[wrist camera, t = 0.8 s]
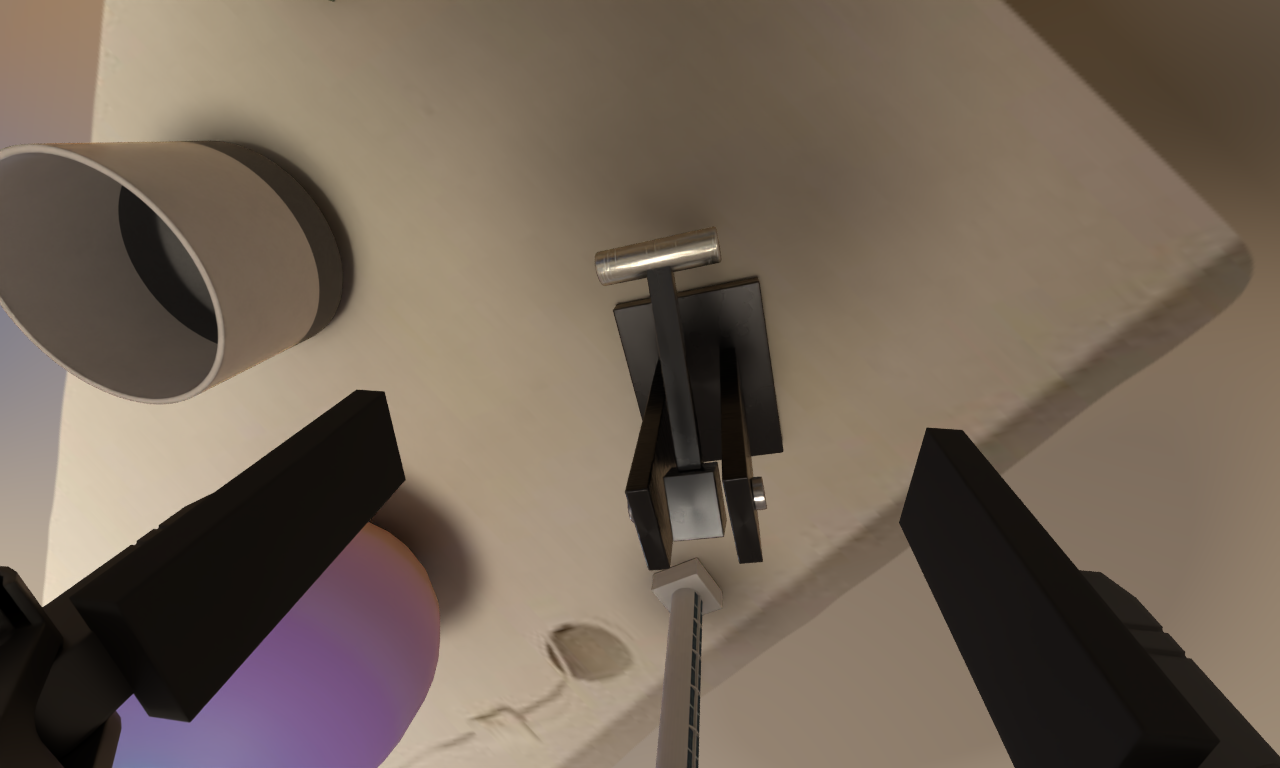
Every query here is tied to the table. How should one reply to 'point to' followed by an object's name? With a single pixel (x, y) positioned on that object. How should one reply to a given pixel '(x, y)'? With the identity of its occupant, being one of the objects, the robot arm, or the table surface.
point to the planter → (161, 262)
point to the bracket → (704, 409)
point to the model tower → (683, 659)
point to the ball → (314, 676)
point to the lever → (676, 372)
